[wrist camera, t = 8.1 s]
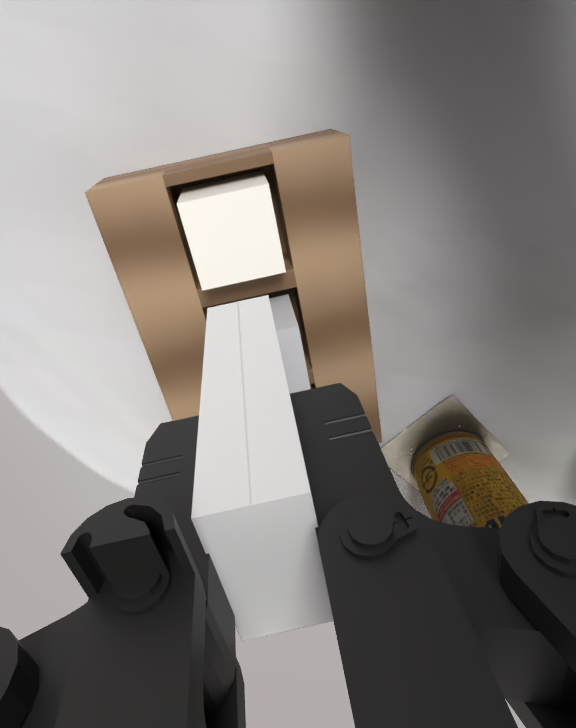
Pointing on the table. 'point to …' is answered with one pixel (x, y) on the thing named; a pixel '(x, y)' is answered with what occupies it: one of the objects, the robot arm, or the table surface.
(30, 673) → the robot arm
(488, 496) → the condiment
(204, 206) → the cream white cube
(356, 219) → the wooden tray
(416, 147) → the table surface
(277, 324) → the grey cube
